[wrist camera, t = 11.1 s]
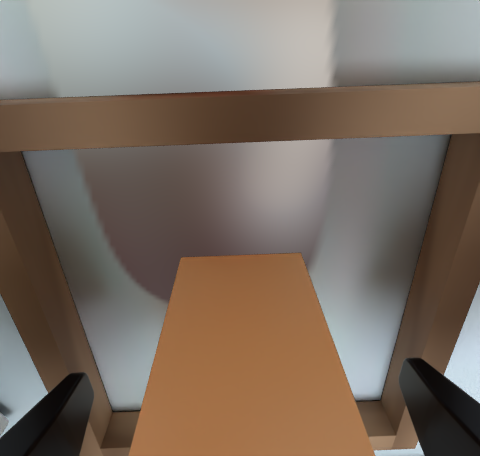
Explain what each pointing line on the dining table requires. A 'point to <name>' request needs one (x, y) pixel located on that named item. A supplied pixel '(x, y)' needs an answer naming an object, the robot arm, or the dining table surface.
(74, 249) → the dining table surface
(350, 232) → the dining table surface
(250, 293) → the plug block
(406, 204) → the dining table surface
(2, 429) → the tea box
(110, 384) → the dining table surface
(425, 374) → the robot arm
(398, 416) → the frame
